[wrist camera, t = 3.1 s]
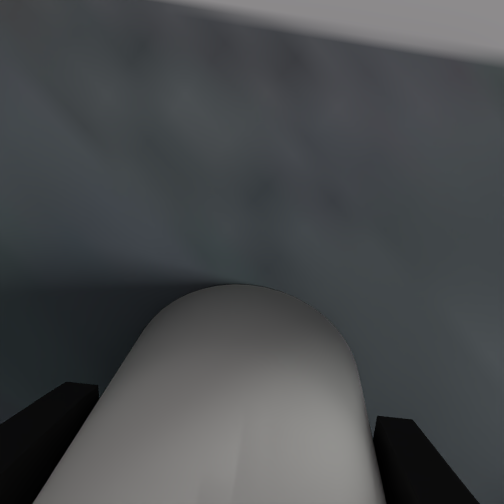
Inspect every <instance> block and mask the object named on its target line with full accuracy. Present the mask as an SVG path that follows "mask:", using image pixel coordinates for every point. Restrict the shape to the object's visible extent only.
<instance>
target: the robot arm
mask: <svg viewBox="0 0 504 504" xmlns="http://www.w3.org/2000/svg"><path fill="white" fill-rule="evenodd" d="M98 400H99V393H98V385H90V384H81V383H72V382H65V383H64V384H62V385H60V386H59V387H57V388H55V389H54V390H52V391H51V392H49V393H47V394H46V395H44V396H43V397H41V398H40V399H38V400H37V401H35V402H34V403H32V404H31V405H29V406H28V407H26V408H25V409H23V410H22V411H20V412H19V413H17V414H16V415H14V416H13V417H11V418H10V419H8V420H7V421H5V422H4V423H2V424H1V425H0V504H33V502H34V501H35V499H36V498H37V496H38V494H39V493H40V491H41V490H42V488H43V487H44V485H45V483H46V482H47V480H48V479H49V477H50V476H51V474H52V472H53V471H54V469H55V468H56V466H57V465H58V463H59V462H60V460H61V458H62V457H63V455H64V454H65V452H66V451H67V449H68V447H69V446H70V444H71V443H72V441H73V440H74V438H75V436H76V435H77V433H78V432H79V430H80V429H81V427H82V426H83V424H84V422H85V421H86V419H87V418H88V416H89V415H90V413H91V411H92V410H93V408H94V407H95V405H96V404H97V402H98ZM373 443H374V447H375V452H376V457H377V461H378V466H379V471H380V475H381V480H382V484H383V489H384V494H385V498H386V503H387V504H480V503H479V502H478V501H477V500H476V499H475V497H474V496H473V495H472V494H471V492H470V491H469V490H468V489H467V488H466V486H465V485H464V484H463V483H462V481H461V480H460V479H459V478H458V476H457V475H456V474H455V473H454V471H453V470H452V469H451V468H450V466H449V465H448V464H447V463H446V461H445V460H444V459H443V457H442V456H441V455H440V454H439V452H438V451H437V450H436V449H435V447H434V446H433V445H432V443H431V442H430V441H429V440H428V438H427V437H426V436H425V435H424V433H423V432H422V431H421V430H420V428H419V427H418V426H417V425H416V423H415V422H414V421H413V420H411V419H402V418H393V417H384V416H377V421H376V426H375V431H374V437H373Z"/></svg>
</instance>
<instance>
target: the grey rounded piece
mask: <svg viewBox="0 0 504 504" xmlns="http://www.w3.org/2000/svg"><path fill="white" fill-rule="evenodd" d="M33 504H387V503H386V498H385V494H384V489H383V484H382V480H381V475H380V471H379V466H378V461H377V457H376V452H375V447H374V443H373V438H372V433H371V429H370V424H369V420H368V415H367V410H366V406H365V401H364V396H363V392H362V387H361V382H360V378H359V373H358V369H357V365H356V362H355V359H354V357H353V354H352V352H351V350H350V348H349V346H348V344H347V343H346V341H345V339H344V338H343V336H342V335H341V334H340V333H339V331H338V330H337V329H336V327H335V326H334V325H333V324H332V323H331V322H330V321H329V320H328V319H327V318H326V317H324V316H323V315H322V314H321V313H319V312H318V311H317V310H315V309H314V308H313V307H311V306H310V305H308V304H306V303H305V302H303V301H301V300H299V299H297V298H295V297H293V296H291V295H288V294H286V293H283V292H281V291H277V290H273V289H270V288H266V287H260V286H254V285H240V284H230V285H219V286H213V287H209V288H204V289H200V290H198V291H195V292H192V293H189V294H187V295H185V296H183V297H181V298H179V299H177V300H175V301H173V302H172V303H170V304H169V305H168V306H166V307H165V308H163V309H162V310H161V311H160V312H159V313H158V314H157V315H156V316H155V317H154V318H153V319H152V320H151V321H150V322H149V324H148V325H147V326H146V327H145V329H144V330H143V332H142V333H141V335H140V336H139V338H138V339H137V341H136V343H135V344H134V346H133V347H132V349H131V350H130V352H129V353H128V355H127V357H126V358H125V360H124V361H123V363H122V364H121V366H120V368H119V369H118V371H117V372H116V374H115V375H114V377H113V379H112V380H111V382H110V383H109V385H108V386H107V388H106V390H105V391H104V393H103V394H102V396H101V397H100V399H99V400H98V402H97V404H96V405H95V407H94V408H93V410H92V411H91V413H90V415H89V416H88V418H87V419H86V421H85V422H84V424H83V426H82V427H81V429H80V430H79V432H78V433H77V435H76V436H75V438H74V440H73V441H72V443H71V444H70V446H69V447H68V449H67V451H66V452H65V454H64V455H63V457H62V458H61V460H60V462H59V463H58V465H57V466H56V468H55V469H54V471H53V472H52V474H51V476H50V477H49V479H48V480H47V482H46V483H45V485H44V487H43V488H42V490H41V491H40V493H39V494H38V496H37V498H36V499H35V501H34V502H33Z"/></svg>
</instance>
